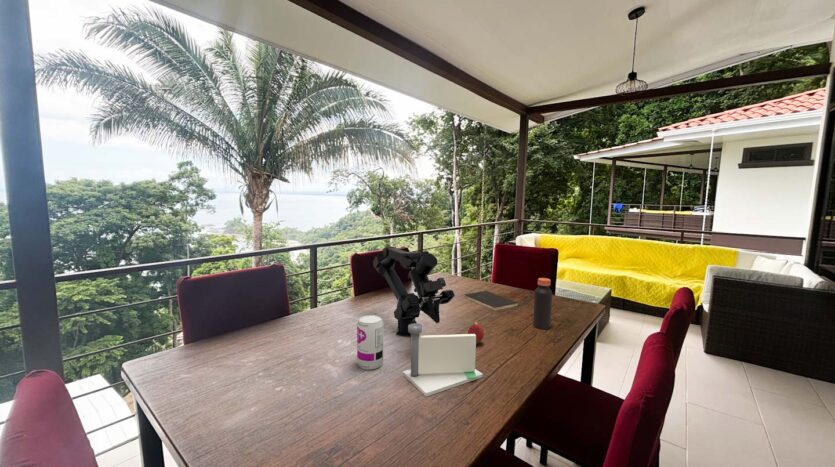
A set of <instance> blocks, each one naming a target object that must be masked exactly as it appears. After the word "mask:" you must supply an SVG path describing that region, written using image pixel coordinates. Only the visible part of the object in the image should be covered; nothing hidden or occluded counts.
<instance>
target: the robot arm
mask: <svg viewBox="0 0 835 467" xmlns="http://www.w3.org/2000/svg"><path fill="white" fill-rule="evenodd" d="M437 258H438V257H437V256H435V255H434V254H433V253H430V252H429V251H428V250H424V251H422V253H421V252H420V251H406V250H403V249H399V248H396V247H395V246H387V247H383V249H382V250H381V251H380V252H379V253H378V254H376V255H375V257H374V259H373V262H372V265H373V268H374V269H375V270H376V272H377V273H378V274H380V275H382V276H383V277H384V278H385V280H386V282H387V284H388V285H389V287H390V290H391V291H392V293H393V294H394V297H395V299H396V301H397V302H396V308H395V309H394V311H393V316H394V317H393V318H395V319H396V320H397V331H396V333H395V335H397V336H404V337H410V338H411V333H409V332H408V325H409V324H413V323H417V324H418V322H417V321H416V318H419V317H420V314H421V312H423V313H424V314H426V315H427V316H428V317H429V318H430V319H431V320H432V321H433V322H435V323H436V324H439V323H440V320H441V319H440V318H441V317H440V305H444V304H448V303H450V302H451V301H452V300H453V299H454V297H455V296H456V294H455V293H454V291H453V289H446V290H443V289H444V287H446V286H447V284H446V280H445V278H444V277H439V278H436V280H432V279H430V278H429V275H431V273H432V272H433V271H434V269H435V268H436V266H437V265H438V262H439V261H438V259H437ZM396 262H399V263H400V266H401V267H403V268H404V269H411V270H409V272H408V275H407V278H408V279H411V281H412V284H413V286H414V289H413V292H410V293H409V292H408V291H407V289H406V288H405V286H404V284H403V282H402V281H401V279H400V276H398V274H397V272H396V270H395V264H396ZM440 290H442V291H441V292H440V293H439V291H440ZM415 293H416V294H417V295H416V294H415ZM438 293H439V294H438Z"/></svg>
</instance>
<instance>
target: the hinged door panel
mask: <svg viewBox="0 0 835 467" xmlns="http://www.w3.org/2000/svg"><path fill="white" fill-rule="evenodd" d="M408 332H409V333H411V337H410V369H411V376H412V377H417V376H418V375H419V374H424V373H447V372H471V371H475V369H476V356H477V355H476V350H477V349H476V348H477V347H476V346H477V344H476V335H475V334H468V333H464V334H463V333H462V334H459V333H458V334H434V335H433V334H431V335H429V334H428V335H424V334H423V335H420V334H421V333H422V332H423V325H422V324H420V323H418V322H417V323H413V324H409V325H408Z"/></svg>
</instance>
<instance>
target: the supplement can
mask: <svg viewBox="0 0 835 467" xmlns="http://www.w3.org/2000/svg"><path fill="white" fill-rule="evenodd" d="M356 346H357V347H356V353H357V355H356V358H357V360H356V361H357V362H356V363H357V365H358V367H359V368H361V369H362V370H366V371H367V370H368V371H371V370H376V369H378V368H380V367H381V366H382V365H383V364H384V321H383V319H382V317H381V316H379V315H375V314H368V315H362V316H360V317H359V318H358V321H357V323H356Z"/></svg>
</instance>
